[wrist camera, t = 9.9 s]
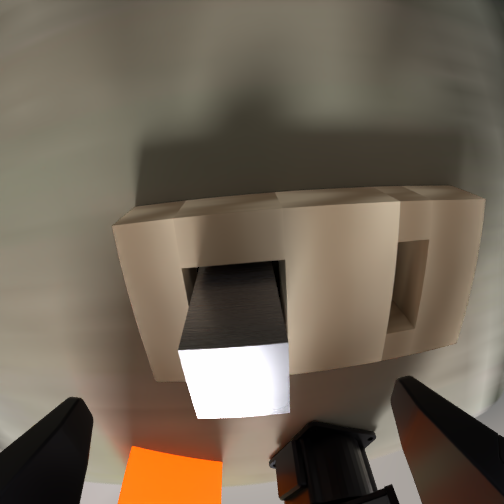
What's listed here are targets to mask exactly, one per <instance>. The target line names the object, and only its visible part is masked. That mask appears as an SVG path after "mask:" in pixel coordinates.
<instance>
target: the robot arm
mask: <svg viewBox="0 0 504 504" xmlns="http://www.w3.org/2000/svg"><path fill="white" fill-rule="evenodd" d="M391 406H392V410H393V413H394V417H395V421H396V425H397V429H398V433H399V437H400V441H401V445H402V448H403V451H404V454H405V457H406V459H407V462H408V465H409V468H410V470H411V473H412V475H413V478H414V481H415V484H416V487H417V490H418V493H419V496H420V498H421V502H422V504H504V437H502V436H501V435H498V433H496V432H495V431H493V430H492V429H490V428H488V427H487V426H485V425H484V424H482V423H481V422H479V421H478V420H476V419H475V418H473V417H472V416H470V415H469V414H467V413H466V412H464V411H463V410H461V409H460V408H458V407H457V406H455V405H454V404H452V403H451V402H449V401H448V400H446V399H445V398H443V397H442V396H440V395H439V394H437V393H436V392H434V391H433V390H431V389H430V388H428V387H427V386H425V385H424V384H422V383H421V382H420V381H418V380H417V379H415V378H414V377H412V376H405V377H400V378H398V379H397V380H396V382H395V385H394V389H393V392H392V396H391ZM92 428H93V416H92V414H91V412H90V411H89V409H88V407H87V405H86V404H85V402H84V400H83V399H81V398H78V397H69V398H67V399H66V400H65V401H64V402H62V403H61V404H60V405H59V406H57V407H56V408H55V409H54V410H52V411H51V412H50V413H49V414H48V415H46V416H45V417H44V418H43V419H41V420H40V421H39V422H38V423H36V424H35V425H34V426H33V427H31V428H30V429H29V430H28V431H27V432H25V433H24V434H23V435H22V436H20V437H19V438H18V439H17V440H15V441H14V442H13V443H12V444H10V445H9V446H8V447H7V448H5V449H4V450H3V451H2V452H1V453H0V504H80V499H81V494H82V489H83V484H84V480H85V475H86V470H87V465H88V459H89V451H90V443H91V436H92ZM375 439H376V435H375V433H374V432H371V431H365V430H358V429H353V428H347V427H341V426H336V425H331V424H326V423H321V422H315V421H314V422H310V423H308V424H307V425H306V426H305V427H304V428H303V429H302V430H301V431H300V432H299V433H298V434H297V435H296V436H295V437H294V438H293V439H292V440H291V441H290V442H289V443H288V444H287V445H286V446H285V447H284V448H283V449H282V450H281V451H280V452H279V453H278V454H277V455H275V456H274V457H273V458H272V459H271V460H270V461H269V466H270V467H271V468H275V469H276V474H277V485H278V495H279V498H280V500H283V501H284V503H285V504H399V501H398V499H397V496H396V494H395V491H394V488H393V486H392V484H391V485H388V486H385V487H384V488H383V489H381V490H377V487H376V484H375V480H374V477H373V474H372V471H371V468H370V464H369V461H368V458H367V455H366V452H365V448H366V447H367V446H368V445H369V444H370V443H372V442H373V441H374V440H375Z"/></svg>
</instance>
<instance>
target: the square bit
mask: <svg viewBox="0 0 504 504" xmlns="http://www.w3.org/2000/svg"><path fill="white" fill-rule="evenodd" d="M178 353H179V357H180V360H181V364H182V368H183V371H184V375H185V378H186V381H187V385H188V388H189V392H190V395H191V398H192V401H193V405H194V408H195V411H196V414H197V417H198V419H204V418H233V417H249V416H262V415H273V414H283V413H290V387H289V343H288V338H287V333H286V328H285V323H284V319H283V314H282V309H281V304H280V300H279V295H278V290H277V286H276V281H275V276H274V272H273V267H272V262H271V261H262V262H251V263H239V264H227V265H215V266H204V267H200V268H199V271H198V275H197V279H196V282H195V286H194V290H193V293H192V297H191V301H190V305H189V308H188V312H187V316H186V320H185V324H184V328H183V332H182V336H181V340H180V344H179V348H178Z"/></svg>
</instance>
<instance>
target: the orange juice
mask: <svg viewBox="0 0 504 504" xmlns="http://www.w3.org/2000/svg"><path fill="white" fill-rule="evenodd" d="M221 487H222V462H218V461H210V460H203V459H196V458H189V457H183V456H178V455H172V454H167V453H162V452H157V451H152V450H148V449H143V448H139V447H135V446H132V448H131V452H130V456H129V459H128V463H127V467H126V471H125V475H124V479H123V483H122V488H121V492H120V496H119V500H118V504H221Z"/></svg>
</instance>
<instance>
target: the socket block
mask: <svg viewBox="0 0 504 504" xmlns="http://www.w3.org/2000/svg"><path fill="white" fill-rule="evenodd" d="M485 200H486V199H484V198H481V197H479V196H477V195H474V194H472V193H469V192H467V191H464V190H461V189H459V188H456V187H454V186H382V187H354V188H333V189H315V190H299V191H284V192H270V193H258V194H246V195H235V196H224V197H214V198H204V199H195V200H186V201H177V202H168V203H160V204H152V205H144V206H137V207H134V208H133V209H132V210H130V211H129V212H128V213H127V214H125V215H124V216H123V217H122V218H121V219H119V220H118V221H117V222H116V223H115V224H114V225H112V228H113V233H114V238H115V242H116V247H117V251H118V255H119V260H120V264H121V268H122V272H123V276H124V280H125V284H126V288H127V291H128V295H129V299H130V302H131V306H132V309H133V313H134V316H135V320H136V323H137V326H138V330H139V333H140V336H141V339H142V342H143V345H144V348H145V351H146V354H147V357H148V360H149V363H150V366H151V369H152V372H153V375H154V378H155V380H156V382H187V381H186V378H185V375H184V371H183V368H182V364H181V360H180V357H179V353H178V348H179V344H180V340H181V336H182V332H183V328H184V324H185V320H186V316H187V312H188V308H189V305H190V301H191V297H192V293H193V290H194V286H195V282H196V279H197V270H196V267H204V266H215V265H227V264H239V263H251V262H262V261H274V260H279V279H280V300H281V309H282V314H283V319H284V323H285V328H286V333H287V338H288V343H289V375H293V374H302V373H310V372H317V371H325V370H331V369H338V368H344V367H351V366H357V365H362V364H368V363H373V362H379V361H384V360H389V359H394V358H398V357H403V356H408V355H412V354H417V353H421V352H425V351H429V350H433V349H437V348H441V347H445V346H449V345H453V344H456V343H457V340H458V337H459V334H460V330H461V327H462V323H463V320H464V316H465V312H466V309H467V305H468V301H469V297H470V292H471V288H472V283H473V279H474V274H475V269H476V264H477V258H478V253H479V247H480V241H481V234H482V227H483V219H484V210H485ZM397 246H398V252H397ZM396 257H397V262H396ZM395 267H396V272H395ZM394 276H395V280H394ZM393 285H394V288H393ZM392 293H393V296H392Z"/></svg>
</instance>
